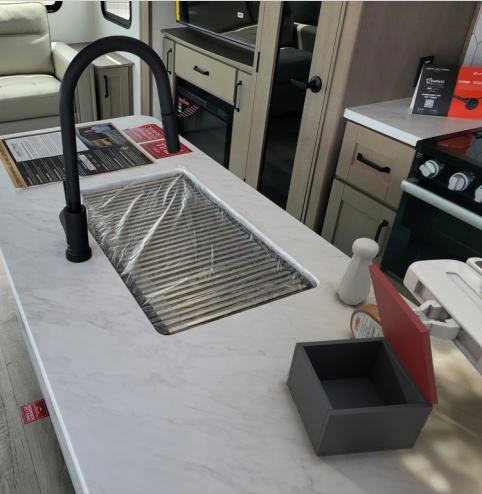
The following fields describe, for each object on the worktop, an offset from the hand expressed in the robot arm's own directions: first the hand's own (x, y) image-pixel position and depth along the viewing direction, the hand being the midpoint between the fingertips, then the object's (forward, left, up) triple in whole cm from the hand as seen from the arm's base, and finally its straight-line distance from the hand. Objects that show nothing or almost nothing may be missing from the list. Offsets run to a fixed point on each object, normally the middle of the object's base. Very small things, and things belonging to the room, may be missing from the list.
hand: (409, 321), depth 60 cm
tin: (-6, -9, -18) cm, 21 cm away
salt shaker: (-8, -25, -18) cm, 32 cm away
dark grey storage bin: (+4, 0, -18) cm, 18 cm away
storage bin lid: (+1, 0, -2) cm, 2 cm away
